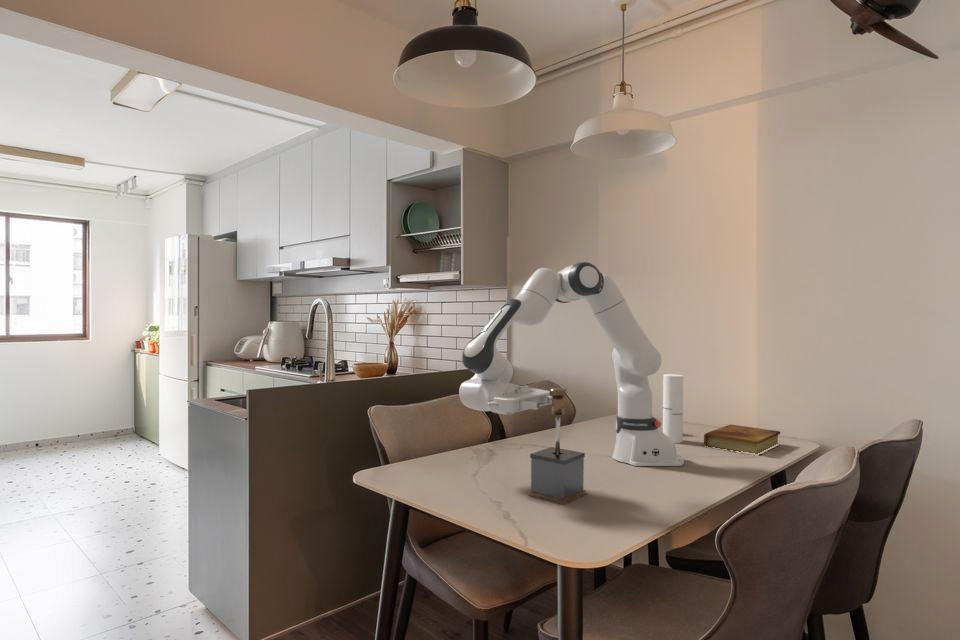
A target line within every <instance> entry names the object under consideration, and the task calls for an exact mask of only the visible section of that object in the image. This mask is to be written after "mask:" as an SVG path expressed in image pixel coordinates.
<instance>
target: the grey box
mask: <svg viewBox="0 0 960 640" xmlns="http://www.w3.org/2000/svg"><path fill="white" fill-rule="evenodd" d="M529 454H530V455H529V457H530V458H529V459H530V463H531V464H530V468H531V469H530V477H531V478H530V479H531V480H530V490H529V491H528V496H529V497H533V498H537V499H540V500H541V499H542V500H545V501H549V502H552V503H557V504H561V505H566V504H568V503H569V504H570V503H571V502H573V501H575V500H577V499H578V498H581V497H582V496H583V497H584V496H585V495H587V490H586V489H584V470H585V469H584V468H585V467H584V463H585V462H584V460H585V459H584V458H585V456H586V453H585V452H581V451H576V450H570V449H564V448H560V455H556V454H555V447H553V446H551V447H548V448H544V449H541V450H539V451H535V452H532V453H529Z"/></svg>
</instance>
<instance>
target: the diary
mask: <svg viewBox="0 0 960 640" xmlns="http://www.w3.org/2000/svg"><path fill="white" fill-rule="evenodd" d="M779 435H781V431H780V430H779V431H778V430H775V429H773V430H772V429H767V428H766V429H765V428H759V427H752V426H744V425H738V424H737V425H736V424H728V425H725V426H722V427H720V428H719V427H718V428H717V429H714V430H711V431H708V432H706V433H705V434H703V446H704V447H705V446H708V447H715V448H720V449H727V450H733V451H739V452H741V451H743V452H749V453H755V454H758V453H760V452H762V451H764V450H766V449H768V448H770V447H772V446H774V445H776V444H779ZM708 447H707V448H708ZM720 449H719V450H720Z"/></svg>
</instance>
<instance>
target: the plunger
mask: <svg viewBox="0 0 960 640" xmlns="http://www.w3.org/2000/svg"><path fill="white" fill-rule="evenodd" d="M549 391H550V396H552V405H551V415H554V416H555V443H554V445H555V447H554V448H555V454H556V455H560V449H561V416H564V415H565V397H566V396H567V391H568V390H567V388H564V387H563V388H559V387H553V388H552V387H551V388H549Z"/></svg>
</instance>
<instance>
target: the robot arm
mask: <svg viewBox="0 0 960 640" xmlns="http://www.w3.org/2000/svg"><path fill="white" fill-rule="evenodd" d="M580 299H581V300H582V299H584V300H585V301H586V302H587V303H588V304H589V307H590V308H591V310H592V313H593V314H594V317H595V319H596V321H597V323H598V325H599V327H600V328H601V331H602V333H603V334H604V336H605V337H606V338H607V340H608V341H609V342H610V343H611V345H612V346H613V350H612V352H611V359H612V362H613V367H614V375H615V382H616V387H617V388H616V389H617V415H616V417H615V418H616V419H615V432H616V436H615V437H616V438H615V445H614V449H613V453H612V455H611V457H612V459H613V460H614V461H618V462H621V463H625V464H629V465H632V466H636V467H681V466H683V465H684V464H685V461H684V458H683V457H682V455H679V454H677V449H676V448H677V447H676V443H674V442H673V441H672V440H671V439H670V438H669V437H668V436H666V435H665V434H664V433H663V431H662V430H661V429H660V427H661V426H662V422H661V420H659V419H657V418H656V417H654V416H653V391H652V390H651V387H650V383H649V382H650V381H649V377H648V376H651V375H654V374H656V373H657V372H658V371H659V370H660V368H661V367H662V355H661V353H660V352H659V350H658V349H657V348H656V347H655V346H654V345H653V343H652V341H651V339H650V338H649V337H648V336H647V334H646V333H645V331H644V330H643V329H642V327H641V325H639V323H638V321H637V320H636V317H635V316H634V315H633V314H634V313H632V311H631V308H630V306H629V305H628V302H627V300H626V299H625V297H624V295H623V293H622V291H621V290H620V288H619V286H618V285H617V283H615V281H614V280H613V278H612V277H611V276H610V275H609V274H606V273H602V272H601V271H600V270H599V268H598V267H597V266H595V265H594V264H593V263H591V262H588V261H587V262H585V261H584V262H577V263H575V264H572V265H569V266H566V267H564V268H563V269H562V270H559V271H558V272H556V271H554V270H553V269H551V268H547V267H540V268H538V269H536V270H535V271H534V272H533V273H532V275H531V276H529V278H528V279H527V280H526V282H525V283H524V284H523V286H522V287H521V289H520V291H519V293H518V294H517V295H516V296H515V297H514V298H510V299H508V300H506V301H504V302H503V303H502V304H501V306H499V308H498V309H497V310H496V311H495V313H494V314H493V315H492V316H490V317H491V318H489V320H487V322H486V323H485V325H484V326H483V327H482V328H481V330H480V331H479V332H478V333H477V334H476V335H475V336H473V338H472V339H471V340H469V342H468V343H467V344H466V345H465V346H464V348H463V351H462V359H461V360H462V363H463V366H464V367H465V368H466V369H468V370H469V371H470V372H471V373H473V374H474V375H473V376H472V377H471V378H470V379H467V380H465V381H463V382H462V383H461V384H460V386H459V389H458V394H459V395H458V397H459V399H460V402H461V403H462V405H464V406H465V407H467V408H469V409H471V410H476V411H480V412H492V413H494V414H501V415H507V416H512V415H514V414H515V413H518V412H523V411H528V410H539V409H540V408H541V407H544V406H548V405H551V406H552V396H550V390H545V389H542V388H535V387H529V386H528V385H527V384H514V383H511V382H512V380H513V377H514V374H515V373H514V371H515V369H514V366H513V364H512V363H511V362H510V361H509V360H508V358H506V357H505V356H504V355H503V354H502V353H501V352H500V351H499V350H498V349H497V342H498V341H499V340H500V339H501V337H502V336H503V334H504V333H505V332H506V331H507V329H509V327H510V325H512V324H513V323H517V324H521V325H524V326H530V327H531V326H537V325H539V324H541V323H543V321H544V320H545V319H546V318H547V316H548V314H549V313H550V311H551V309H552V307H553V305H554V303H555V302H557V303H560V304H561V303H562V304H567V303H571V302H575V301H579V300H580Z"/></svg>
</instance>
